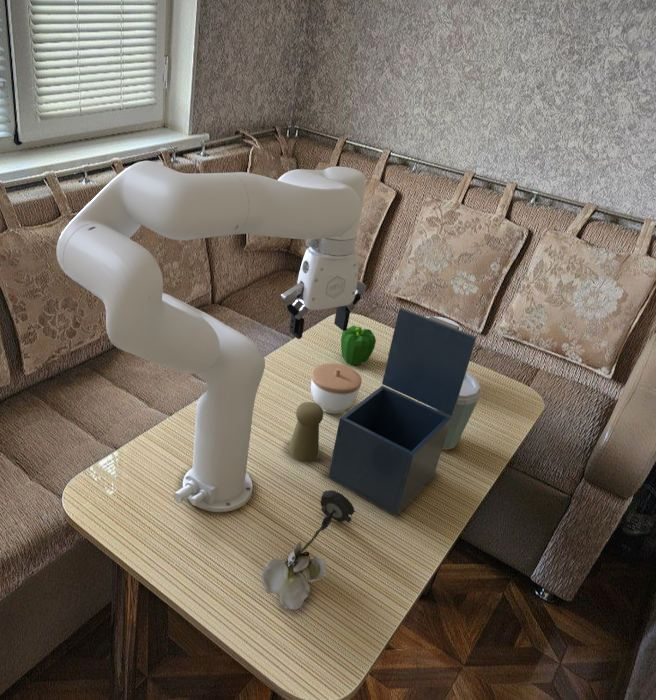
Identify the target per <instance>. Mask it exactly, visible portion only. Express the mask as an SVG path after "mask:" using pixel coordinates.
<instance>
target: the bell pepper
mask: <svg viewBox="0 0 656 700" xmlns="http://www.w3.org/2000/svg"><path fill="white" fill-rule="evenodd" d="M376 342H377V340H376V336H375V334H374V333H373V332H372V330H371V329H369V328H362V327H361V326H359V325H358V326H356V325H354V324H353V325H352V326H349V327H347V330H346V331H343V330H342V332H341V338H340V349H341V356H342V358H343V360H344V361H345V363H346V364H348V365H351V366H360V365H362V364H364V363H366V362H368V360H370V358H371V356H372V353H373V352H374V350H375V346H376Z"/></svg>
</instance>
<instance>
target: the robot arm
mask: <svg viewBox="0 0 656 700" xmlns="http://www.w3.org/2000/svg"><path fill="white" fill-rule="evenodd" d="M366 186H367V177H366V175H365V174H364V172H362V171H360V170H358V169H356V168H352V167H348V166H338V165H337V166H330V167H326V168H325V169H304V168H300V169H299V168H297V169H291V170H289V171H287V172H285V173H283V174H282V175H281V176H280V177H279V178H278V179H275V178H271V177H268V176H265V175H261V174H258V173H257V174H256V173H252V172H246V171H237V172H234V171H233V172H208V173H207V172H203V173H201V172H200V173H188V172H187V173H186V172H180V171H177V170H175V169H172V168H170V167H168V166H165V165H163V164H161V163H159V162H156V161H152V160H142V161H137V162H135V163H133V164H132V165H130V166H128V167H127V168H125V169H124V170H122V171H121V172H120V173H118V174H117V175H116V176H115V177H114V178H113V179H112V180H111V181H110V182H109V183H108V184H106V185H105V186H104V187H103V188H102V189H101V190H100V191H99V192H98V193H97V194H96V195H95V196H94V197H93V198H92V200H90V201H89V202H88V203H87V204H86V205H85V206H84V207H83V208H82V209H81V210H80V211H79V212H78V213H77V214H76V215H75V216H74V217H73V219H71V220H70V221H69V223H68V224H67V225H66V226H65V228H64V229H63V230H62V231H61V234H60V236H59V237H58V240H57V243H56V251H55V252H56V253H55V255H56V260H57V263H58V266H59V268H60V269H61V270H62V272H63V273H64V274H65V275H66V276H68V277H69V278H70V279H71V280H72V281H74V283H77V284H78V285H80V286H81V287H83V288H84V289H86V290H87V291H88V292H89V293H91V294H92V295H94V296H95V297H96V298H98V299H99V300H101V301H102V302H103V303H102V304H103V305H104V307H105V330H106V335H107V338H108V340H109V341H110V343H111V345H113V346H114V347H115V348H117V349H119V350H120V351H123V352H124V353H125V352H126V353H128V354H130V355H133V356H136V357H138V358H141V359H143V360H144V361H146V362H151V363H153V364H155V365H158V366H160V367H163V368H166V369H168V370H170V371H173V372H176V373H178V374H186V375H192V374H195V375H196V376H197V377H198V378H200V379H201V380H202V381H204V382H205V384H206V386H207V388H206V391H205V392H203V393H202V394H201V396H200V397H199V398H198V401H197V404H196V408H195V423H194V424H195V425H194V437H193V438H194V439H193V453H192V454H193V455H192V456H193V457H192V467H191V468H190V469H189V470H187V472H186V473H185V475H184V476H183V479H182V487H181V488H180V489H178V490H176V492H174V493H173V495H172V496H173V499H174V501H175V502H176V503H178V504H181V503H182V502H183V501H185V500H187V501H189V502H190V504H191V505H192V506H194V507H197V508H199V509H201V510H203V511H208V512H211V513H227V512H232V511H235V510H238V509H240V508H241V507H243V506H244V505H247V503H248V502H249V500H250V499H251V497H252V495H253V486H254V485H253V480H252V478H251V476H250V475H249V474H248V473H247V465H248V459H249V458H248V457H249V450H250V449H249V448H250V440H251V432H252V423H253V416H254V413H253V412H254V407H255V403H256V398H257V397H256V396H257V394H258V389H259V387H260V383H261V381H262V378H263V375H264V372H265V368H266V359H265V355H264V353H263V351H262V349H261V348H260V347H259V346H258V345H257V344H256V343H255V342H254V341H253V340H252V339H250V338H249V337H248V336H246V335H244V334H242V333H241V332H239V331H237V330H236V329H235V328H233V327H231V326H229V325H227V324H225V323H223V322H222V321H220V320H219V319H217V318H216V317H213V316H212V315H210V314H209V313H206V312H204V311H202V310H200V309H198V308H196V307H194V306H192V305H190V304H188V303H186V302H184V301H182V300H180V299H178V298H176V297H174V296H172V295H170V294H167V293H165V292H164V279H163V274H162V270H161V268H160V265H159V263H158V261H157V260H156V258H155V257H154V256H153V254H152V253H151V252H150V251H149V250H148V249H147V248H145V247H144V246H143V245H141V244H139V243H138V242H137V241H134V240H133V239H131V238H132V237H133V235H134V234H135V233H136V232H137V231H138V230H139V229H140V228H141V226H143V227H144V228H147V229H148V230H151V231H152V232H153V233H156V234H157V235H160V236H162V237H164V238H167V239H169V240H173V241H192V240H199V239H209V238H216V237H224V236H234V235H252V236H253V235H254V236H261V237H268V238H269V237H272V238H281V239H282V238H283V239H294V240H305V241H304V244H305V246H306V250H305V252H304V255H303V258H302V261H301V265H300V269H299V272H298V275H297V276H298V277H297V282H296V284H295V285H294V286H291V288H289V289H288V290H286V291H284V292H283V293H282V294H280V299H281V301H282V304H283V308H284V309H286V311H288V312H289V314H290V321H289V327H288V329H289V333H291V334H292V335H293V336H294V337H295V338H296V339H297V340H301V339H302V338H303V333H304V326H305V318H304V316H305V314H306V313H308V311H322V310H328V309H335V308H336V310H335V315H334V320H333V321H334V322H333V323H334V325H335V326H336V327H338V328H339V329H340V330H341V331H342V332H343V331H346V330H347V329H348V325H349V320H350V315H351V312H352V311H354V309H355V305H356V304H357V303H358V302H359V301H360V300H361V298H362V296H363V294H364V292H365V291H366V289H367V285H366V284H365V283H363V282H362V281H360V280H358V275H359V254H358V251H357V249H355V247H356V242H357V237H358V232H359V226H360V220H361V215H362V208H363V204H364V198H365V192H366ZM293 299H296V300H295V301H294V302H293Z"/></svg>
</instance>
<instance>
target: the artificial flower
mask: <svg viewBox="0 0 656 700" xmlns="http://www.w3.org/2000/svg"><path fill="white" fill-rule="evenodd" d="M320 506H321V508H320V510H321V511H322V513H323V514H324V515H325V517H324V518H323V520H322V521H321V526H320V528H318V529H317V530H316V531H315V532H314V534H313V535H312V537H311V539H310V540H308V541H307V542H306V544H305V545H304V546H303V544H302V541H298V542H297V543H296V544H295V545H294V547H293V550H292V551H291V552H290V553H289V554H288V558H287V560H286V561H285V562H284V561H283V560H282V559H280V558H272V559H270V560H269V561H268V562H267V563H266V564H265V566H264V567H263V569H262V571H261V583H262V585H263V587H264V590H265V592H267V593H268V594H272V595H277V594H278V595H279V601H280V604H281V605H283V607H284V609H286V610H293V611H296V610H298V609H300V608H301V607H302V605H303V603H304V601H305V600H306V598H308V597H309V595H310V591H311V588H310V584H309V583H312V582H315V581H318V580H322V579H324V577H325V575H326V569H327V563H326V560H325V559H324V558H322V557H313V558H311V555H310V552H309V551H306V549H307V548H308V547H309V546H310V545H311V544H312V543H313V542H314V540H315V539H316V538H317V537H318V536H319V534H320V532H322V531H325V530H326V529H327V528H329V526H330V523H331V520H334V521H337V522H339V523H342V522H347V523H348V524H349V523H350V522H352V516H353V515H354V513H356V511H355V507H354V505H353V503H351V501H350V500H349V499H348V498H347V496H345V495H343V494H342V493H340V492H339V491H336V490H332V489H329V490H324V491H323V492H322V494H321V498H320ZM302 547H303V548H302ZM304 571H305V575H303V572H304Z"/></svg>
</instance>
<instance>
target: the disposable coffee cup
mask: <svg viewBox="0 0 656 700" xmlns="http://www.w3.org/2000/svg"><path fill="white" fill-rule="evenodd" d="M482 392H483V391H482V389H481V386H480V383H479V380H478V379H477V378H476V377H474V375H472V374H471V373H470V372H467V371H466V374H465V377H464V381H463V384H462V387H461V390H460V394H459V397H458V400H457V404H456V407H455V410H454V414H453V415H452V416H450V415H448V414H446V413H444V412H442V411H439V410H437V409H435V408H433V407H431V406H428V405H426V406H428V407H430V408H432V409H434V410H437V411H439V412H441V413H443V414H445V415H447V416H449V417H451V422H450V425H449V428H448V432H447V435H446V438H445V442H444V445H443V448H442V450H446V451H448V450H452V449H454V448H455V447H456V446H457V444H458V443H459V441H460V439H461V438H462V435H463V434H464V431H465V429H466V427H467V424H468V423H469V420H470V418H471V416H472V414H473V412H474V411H475V407H476V405H477V404H478V402H479V400H481V397H482V395H483V393H482Z"/></svg>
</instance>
